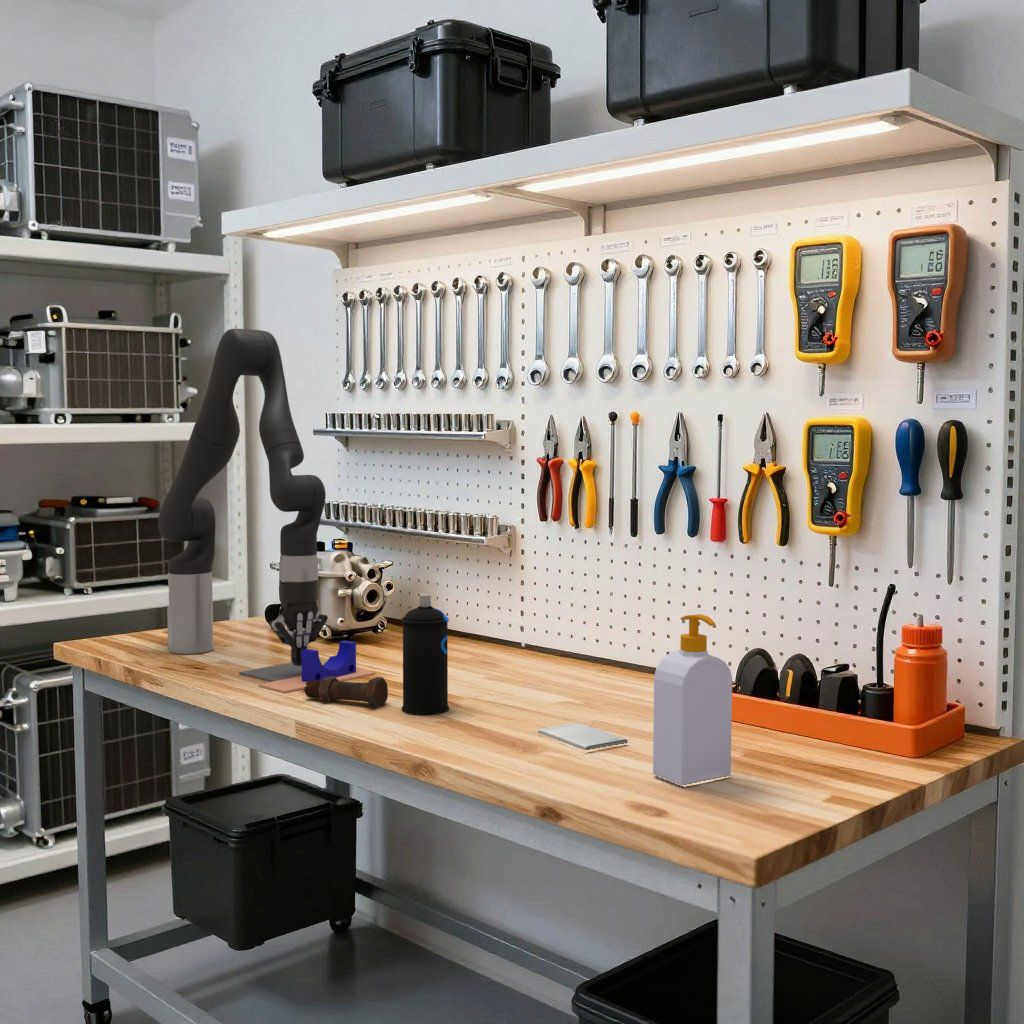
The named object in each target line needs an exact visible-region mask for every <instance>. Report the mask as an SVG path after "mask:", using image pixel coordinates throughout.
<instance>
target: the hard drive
mask: <svg viewBox="0 0 1024 1024" xmlns="http://www.w3.org/2000/svg"><path fill="white" fill-rule="evenodd" d="M538 733H540V734H543V735H546V736H548V737H551V738H554V739H557V740H559V741H562V742H564V743H567V744H569V745H572V746H574V747H577V748H580V749H583V750H590V749H595V748H600V747H606V746H612V745H618V744H624V743H625V744H626V743H628V744H629V742H628V739H626V738H623V737H621V736H618V735H615V734H613V733H609V732H607V731H604V730H601V729H598V728H595V727H593V726H590V725H587V724H584V723H582V722H571V723H565V724H560V725H554V726H549V727H543V728H540V729H538V732H537V734H538Z"/></svg>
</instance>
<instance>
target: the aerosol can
mask: <svg viewBox="0 0 1024 1024" xmlns="http://www.w3.org/2000/svg"><path fill="white" fill-rule="evenodd" d="M431 597H432V595H431V594H429V593H421V594H419V598H418V599H419V600H418V602H419V606H417V607H415V608H412V609H410V610H409V611H408V612H407V613H406V614H405V615H404V617H401V619H400V621H401V623H402V706H401V711H402V712H403V713H406V714H409V715H413V716H414V715H415V716H432V715H433V716H434V715H438V714H439V715H440V714H443V713H447V712H448V711H449V709H450V705H448V704H449V703H448V702H449V701H448V700H449V699H448V690H449V687H448V684H449V683H448V681H449V680H448V678H449V677H448V674H449V673H448V671H449V670H448V669H449V668H448V666H449V665H448V663H449V661H448V658H449V657H448V655H449V654H448V651H449V649H448V639H449V638H448V634H449V633H448V631H449V630H448V629H449V628H448V622H450V621H449V620H450V618H449V617H447V616H446V614H445V613H444V612H443V611H442V610H440V609H438V608H435V607H433V606H432V604H431V603H432V602H431Z"/></svg>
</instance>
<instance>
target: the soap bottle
mask: <svg viewBox="0 0 1024 1024" xmlns="http://www.w3.org/2000/svg"><path fill="white" fill-rule="evenodd" d="M680 620H681V621H687V620H688V633H683V634H680V646H679V647H680V648H679V649H677V650H673V651H671V652H669V653H667V654H666V656H664V657H663V658H662V659H661V660H660V662H659V663H658V665H657V667H656V669H655V673H654V677H653V732H652V733H653V739H652V740H653V741H652V742H653V744H652V745H653V746H652V747H653V749H652V753H653V754H652V773H653V775H654V774H655V775H657V776H660V777H662V778H665V779H667V780H669V781H671V782H674V783H677V784H679V785H687V784H692V783H697V782H701V781H706V780H711V779H716V778H721V777H727V776H731V773H732V771H731V770H732V725H733V724H732V723H733V722H732V721H733V720H732V716H733V715H732V713H733V712H732V710H733V698H732V697H733V677H732V675H733V674H732V671H731V669H730V667H729V665H728V664H727V663H726V661H724V660H723V659H721V658H720V657H717V656H714V655H711V654H709V651H708V649H707V648H708V646H707V645H708V643H707V642H708V639H707V638H708V636H707V635H706V634H703V633H702V634H701V633H699V631H700V629H699V622H700V621H702V622H704V623H705V624H707V625H708V626H710V627H711V626H715V625H716V622H715V621H714V620H713V619H712V618H711V617H710V616H707V615H704V614H700V613H698V614H690V615H689V614H688V615H684V616H681V617H680ZM671 782H670V783H671Z"/></svg>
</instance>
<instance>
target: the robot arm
mask: <svg viewBox="0 0 1024 1024" xmlns="http://www.w3.org/2000/svg"><path fill="white" fill-rule="evenodd" d="M277 341H278V340H276V338H275V336H274V335H273V334H272V333H270V332H269V331H266V330H260V329H251V328H249V329H248V328H230V329H228V330H226V331H225V332H224V333H223V334H222V336H221V338H220V340H219V343H218V344H217V347H216V352H215V355H214V359H213V364H212V368H211V372H210V377H209V380H208V385H207V389H206V391H205V395H204V398H203V401H202V404H201V408H200V410H199V413H198V415H197V418H196V419H195V420H196V421H195V423H194V426H193V429H192V431H191V433H190V434H191V435H189V436H190V437H189V440H188V443H187V446H186V450H185V452H184V455H183V458H182V461H181V463H180V465H179V468H178V471H177V473H176V476H175V478H174V479H173V482H172V484H171V486H170V488H169V490H168V492H167V495H166V496H165V498H164V499H163V503H162V505H161V507H160V511H159V515H158V531H159V534H160V536H161V537H162V539H164V540H166V541H168V542H171V543H177V542H182V543H183V542H187V546H186V547H185V549H183V551H181V552H180V553H178V554H177V555H175V556H173V557H171V558H170V559H169V561H168V563H167V573H168V575H167V576H168V578H167V579H168V580H167V581H168V606H167V608H166V609H167V615H166V616H167V649H168V650H169V652H170V653H174V654H183V655H191V654H201V653H207V652H212V651H213V650H214V607H213V606H214V605H213V603H214V601H213V600H214V597H213V593H214V592H213V563H214V558H215V554H216V553H215V552H216V551H215V550H216V528H217V527H216V523H217V521H216V514H215V508H214V506H213V504H212V503H211V502H210V500H209V499H207V498H203V497H198V494H199V493H200V492H201V491H202V490H203V488H205V486H206V485H207V484H208V483H209V482H210V481H212V480H213V479H214V478H215V477H216V476H217V475H218V474H219V473H220V472H222V470H223V469H224V468H225V467H226V466H227V465H228V464H229V462H230V460H231V458H232V457H233V454H234V452H235V448H236V446H237V444H238V441H239V437H240V433H241V428H240V422H239V419H238V414H237V410H236V407H235V404H234V393H235V389H236V385H237V383H238V380H239V378H240V377H241V376H245V377H247V376H250V377H258V378H259V381H260V382H261V385H262V388H263V392H264V400H263V405H262V409H261V412H260V416H259V417H260V418H259V422H258V423H259V424H258V429H259V431H258V433H259V436H260V439H261V444H262V446H263V447H262V448H263V449H264V452H265V453H264V454H265V455H266V458H267V461H268V475H269V476H268V477H269V494H270V499H271V502H272V504H273V505H274V506H275V508H276V509H278V510H279V511H281V512H284V513H291V512H292V513H293V512H297V516H296V519H294V521H292V522H290V523H287V524H284V525H283V526H282V527H281V529H280V534H279V536H280V538H279V540H280V545H279V546H280V547H279V548H280V549H279V550H280V552H279V554H280V557H279V565H278V579H279V580H278V585H279V586H278V592H279V594H278V598H279V599H278V600H279V602H280V608H279V611H278V617H277V618H275V620H270V621H269V624H268V625H269V627H270V628H271V629H272V631H273V632H274V634H275V635H276V637H277V638H278V639H279V640H280V642H281V643H282V644H283V645H287V646H290V653H291V655H290V661H291V662H292V663H293V664H294V665H296V666H301V650H304V649H308V645H309V644H311V643H313V642H314V643H315V641H316V640H317V638H318V636H319V635H320V634H321V631H322V630H323V628H324V626H325V625H326V623H327V621H328V619H329V617H328V615H326V614H323V613H322V612H321V611H319V606H318V603H317V602H318V600H319V561H318V539H317V538H318V537H317V536H318V531H319V526H320V523H321V519H322V515H323V511H324V508H325V503H326V496H327V495H326V489H325V485H324V483H323V481H322V480H321V478H319V477H318V476H317V475H314V474H297V475H296V474H295V475H293V473H292V469H294V468H296V467H298V466H300V465H301V464H302V463H303V462H304V459H305V454H304V449H303V447H302V443H301V441H300V438H299V435H298V432H297V430H296V427H295V424H294V420H293V417H292V413H291V408H290V402H289V397H288V390H287V384H286V383H287V382H286V377H285V371H284V366H283V360H282V355H281V351H280V346H279V345H278V342H277Z"/></svg>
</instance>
